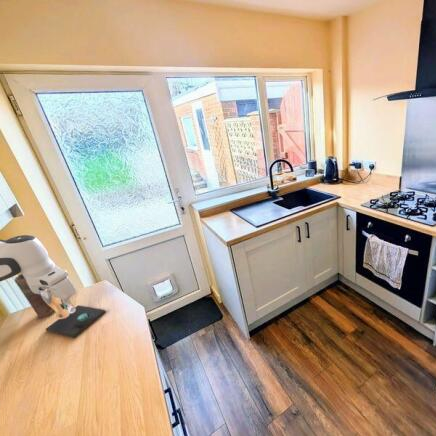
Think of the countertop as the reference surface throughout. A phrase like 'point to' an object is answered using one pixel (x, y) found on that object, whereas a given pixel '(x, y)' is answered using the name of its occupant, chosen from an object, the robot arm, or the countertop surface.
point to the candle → (33, 298)
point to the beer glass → (57, 304)
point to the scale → (75, 322)
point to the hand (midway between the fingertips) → (60, 302)
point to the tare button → (82, 317)
